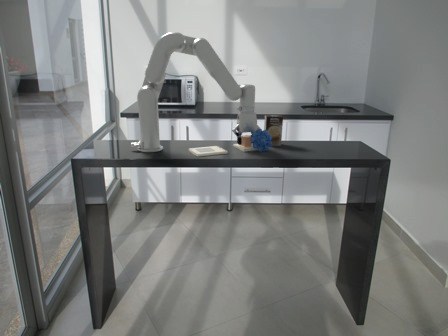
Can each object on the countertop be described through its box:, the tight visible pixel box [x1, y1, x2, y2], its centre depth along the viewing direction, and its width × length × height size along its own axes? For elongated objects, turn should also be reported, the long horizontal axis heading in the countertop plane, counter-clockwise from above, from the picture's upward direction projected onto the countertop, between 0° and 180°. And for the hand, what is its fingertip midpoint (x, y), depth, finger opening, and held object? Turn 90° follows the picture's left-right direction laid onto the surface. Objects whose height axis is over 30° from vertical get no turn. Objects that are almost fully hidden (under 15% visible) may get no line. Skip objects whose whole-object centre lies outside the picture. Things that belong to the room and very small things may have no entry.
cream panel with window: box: [188, 145, 228, 157], centre depth 177 cm, size 16×12×1 cm
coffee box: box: [263, 114, 284, 147], centre depth 193 cm, size 9×6×16 cm
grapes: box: [250, 127, 273, 153], centre depth 177 cm, size 12×7×12 cm, turn 102°
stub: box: [232, 135, 258, 153], centre depth 185 cm, size 8×12×6 cm, turn 25°
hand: (245, 143), depth 185 cm, fingers open, 7 cm apart
